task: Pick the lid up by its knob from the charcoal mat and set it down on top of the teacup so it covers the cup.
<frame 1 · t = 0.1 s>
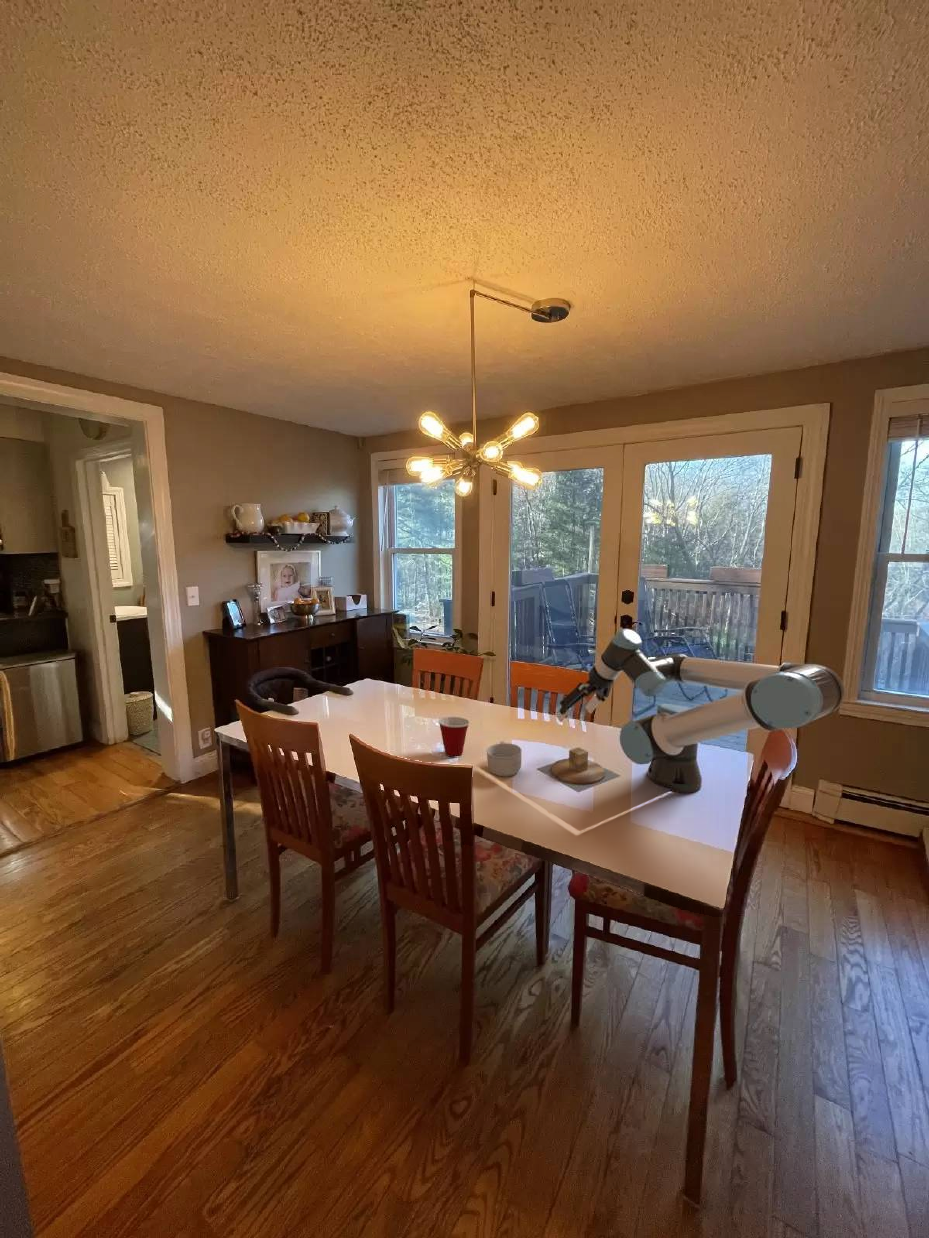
hand: (573, 714, 169), 15 cm above the table, tool tilted 35°, fingers open, 13 cm apart
plastic cup: (454, 754, 176), on the table
mat: (577, 775, 160), on the table
lid: (577, 772, 159), point 1 cm above the table, touching mat
teacup: (504, 771, 163), on the table
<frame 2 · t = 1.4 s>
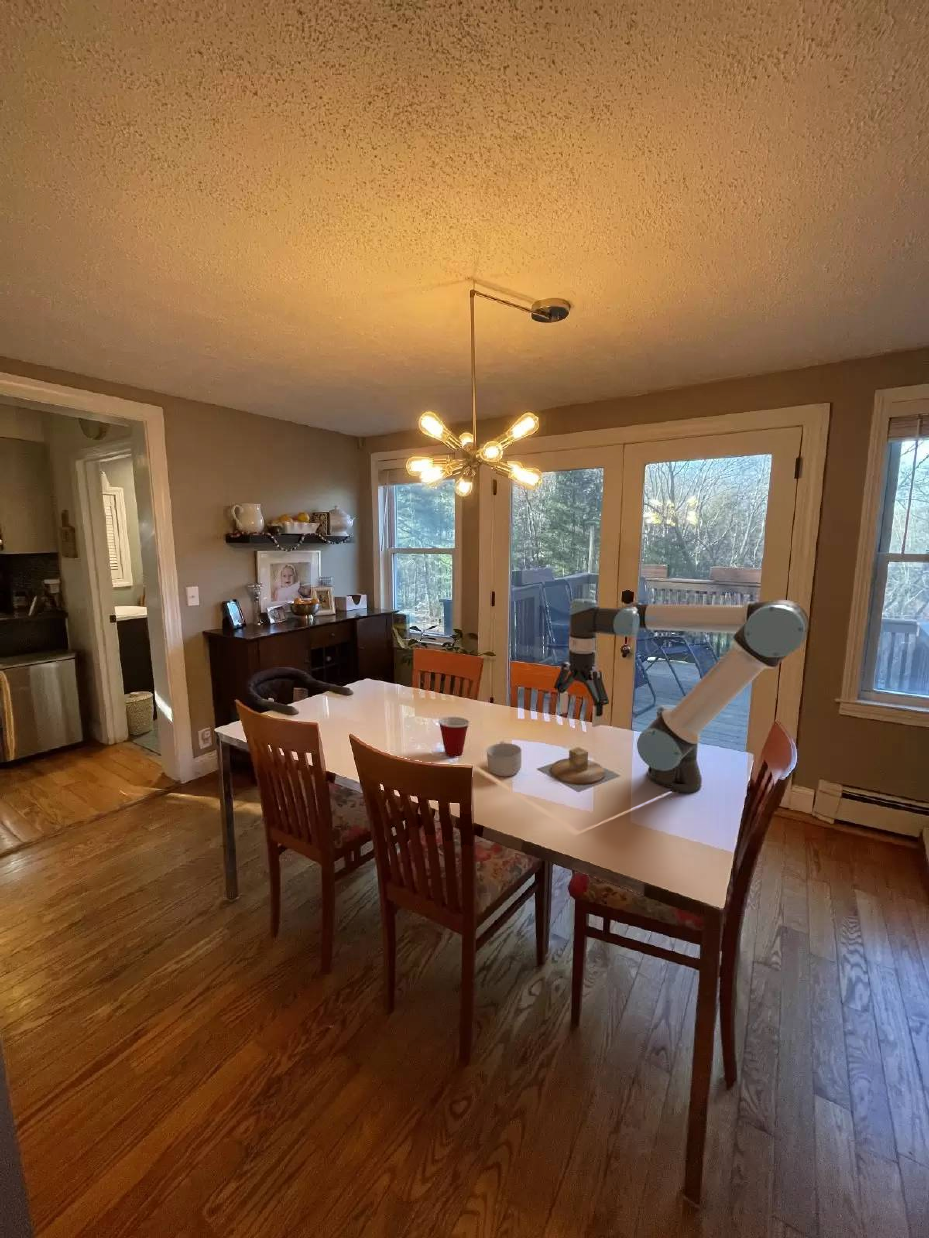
hand: (579, 719, 157), 18 cm above the table, tool pointing down, fingers open, 13 cm apart
nothing on the table moved.
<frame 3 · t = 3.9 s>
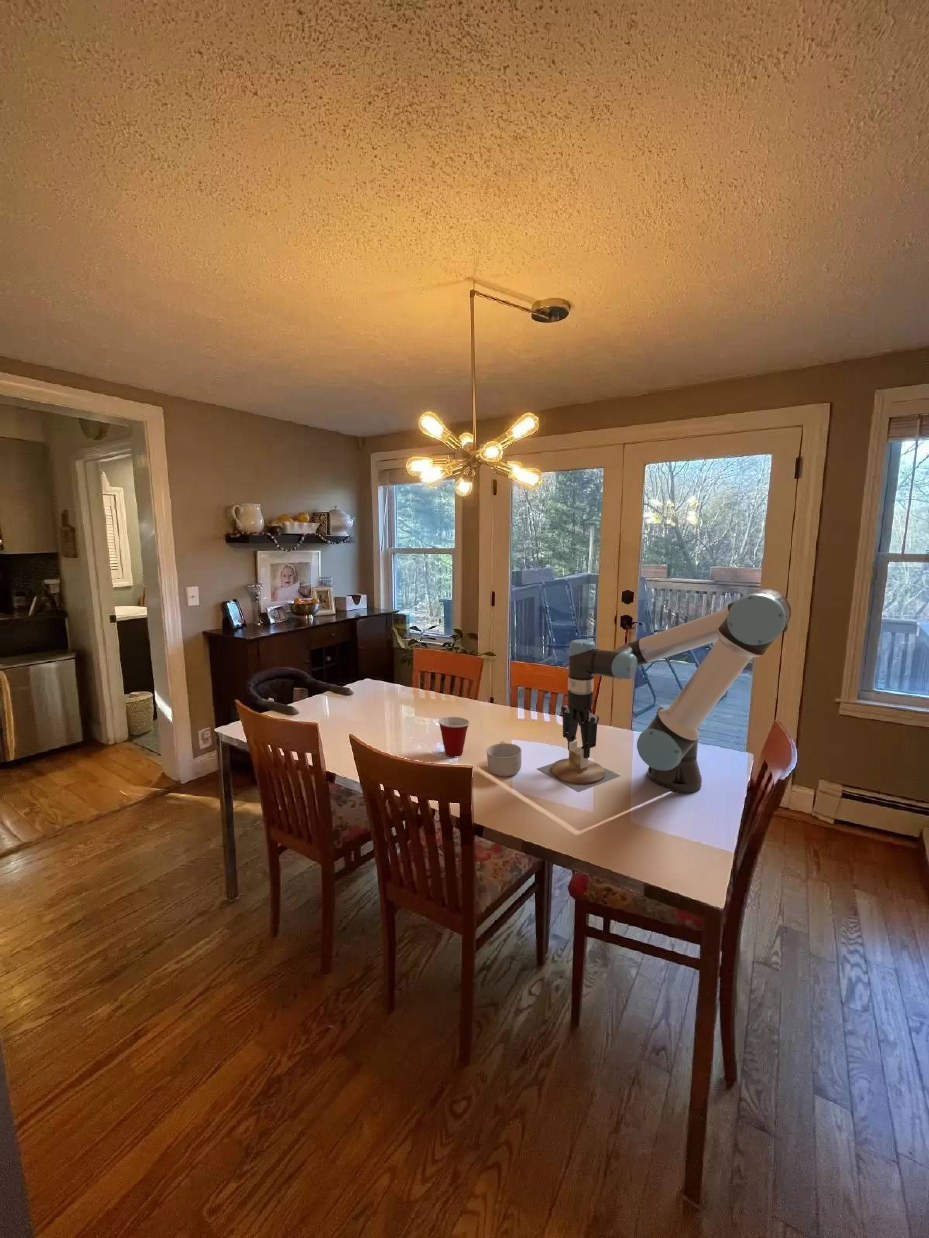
hand: (578, 764, 159), 4 cm above the table, tool pointing down, fingers closed on lid, 4 cm apart
lid: (577, 772, 159), point 1 cm above the table, touching gripper
everything else where it was.
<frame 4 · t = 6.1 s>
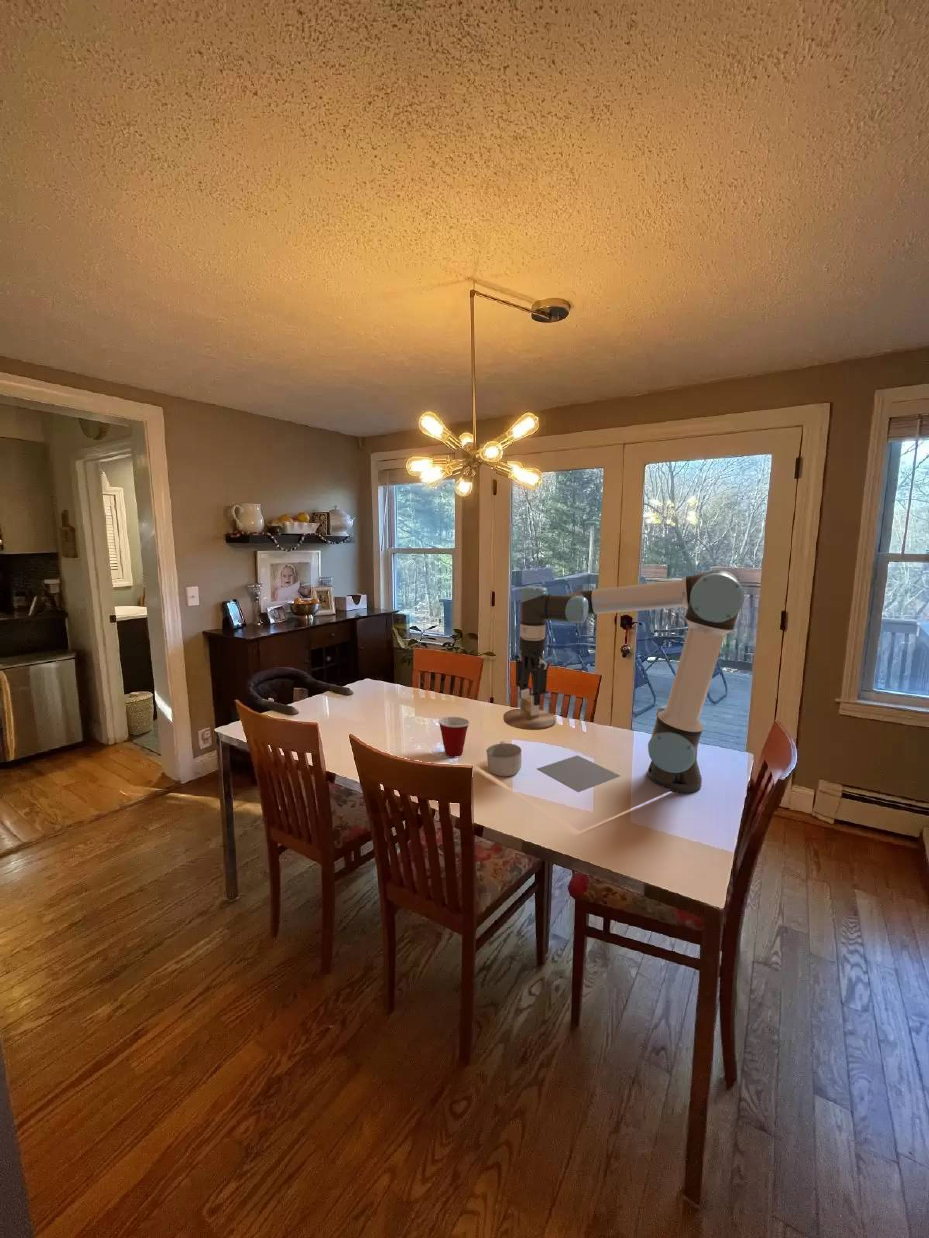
hand: (529, 712, 159), 20 cm above the table, tool pointing down, fingers closed on lid, 4 cm apart
lid: (529, 720, 159), point 17 cm above the table, touching gripper
everything else where it was.
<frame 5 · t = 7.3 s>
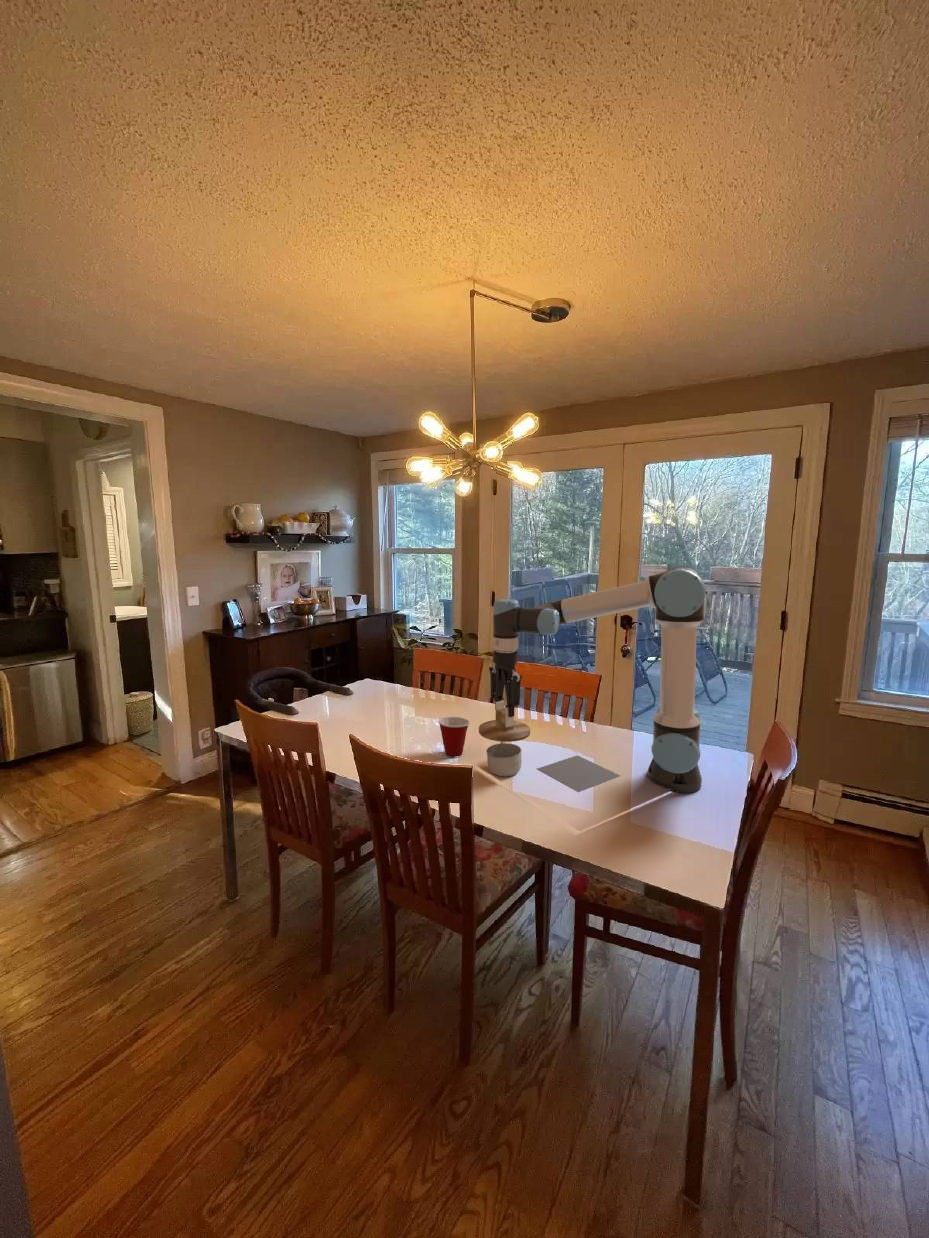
hand: (504, 723, 160), 16 cm above the table, tool pointing down, fingers closed on lid, 4 cm apart
lid: (504, 731, 161), point 13 cm above the table, touching gripper
everything else where it was.
when the fingers open (13 cm above the table, at t = 8.4 s): lid drops 2 cm, resting on teacup.
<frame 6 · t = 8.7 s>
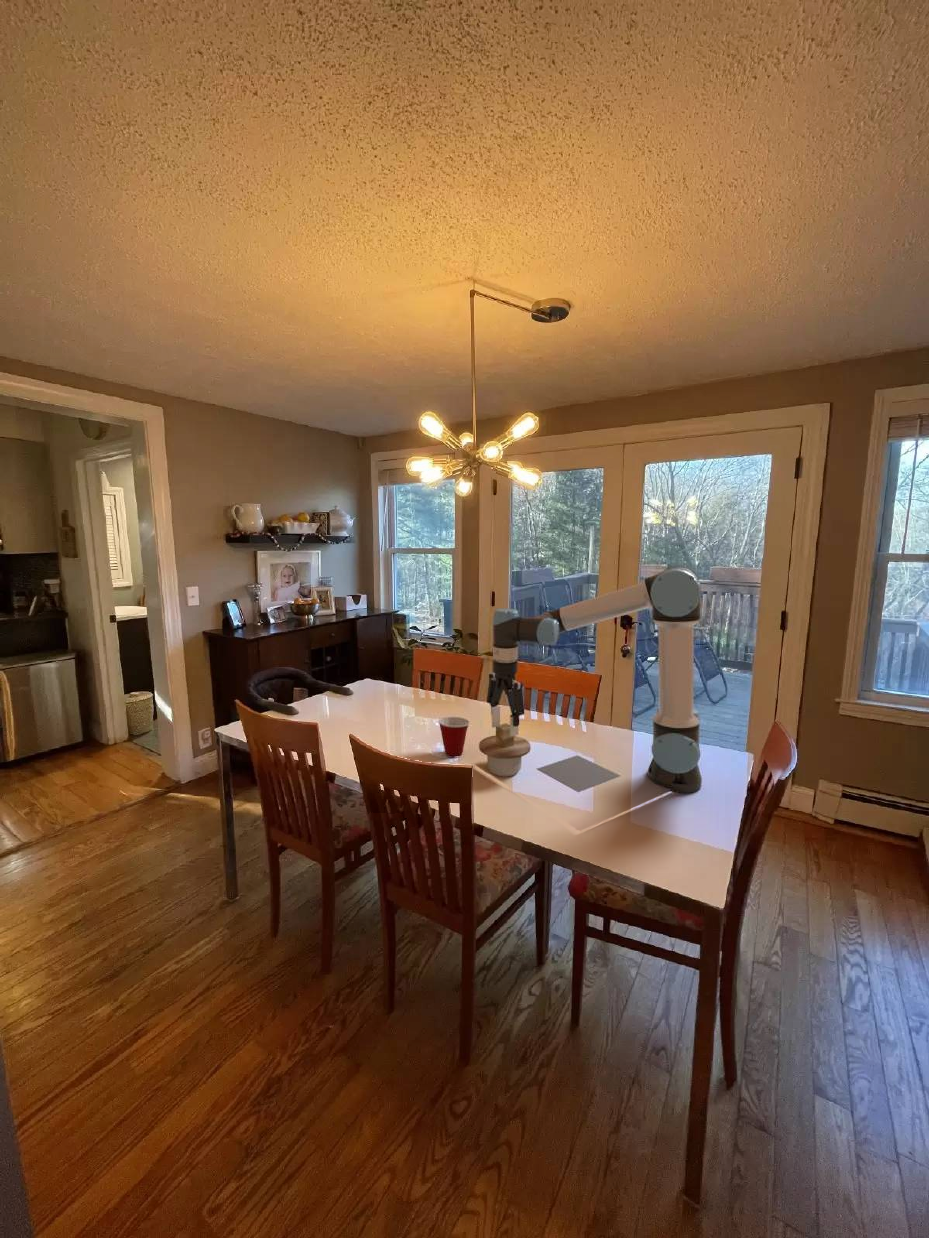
hand: (504, 730, 160), 13 cm above the table, tool pointing down, fingers open, 8 cm apart
lid: (504, 747, 161), point 8 cm above the table, touching teacup
teacup: (504, 771, 163), on the table, touching lid
everything else where it was.
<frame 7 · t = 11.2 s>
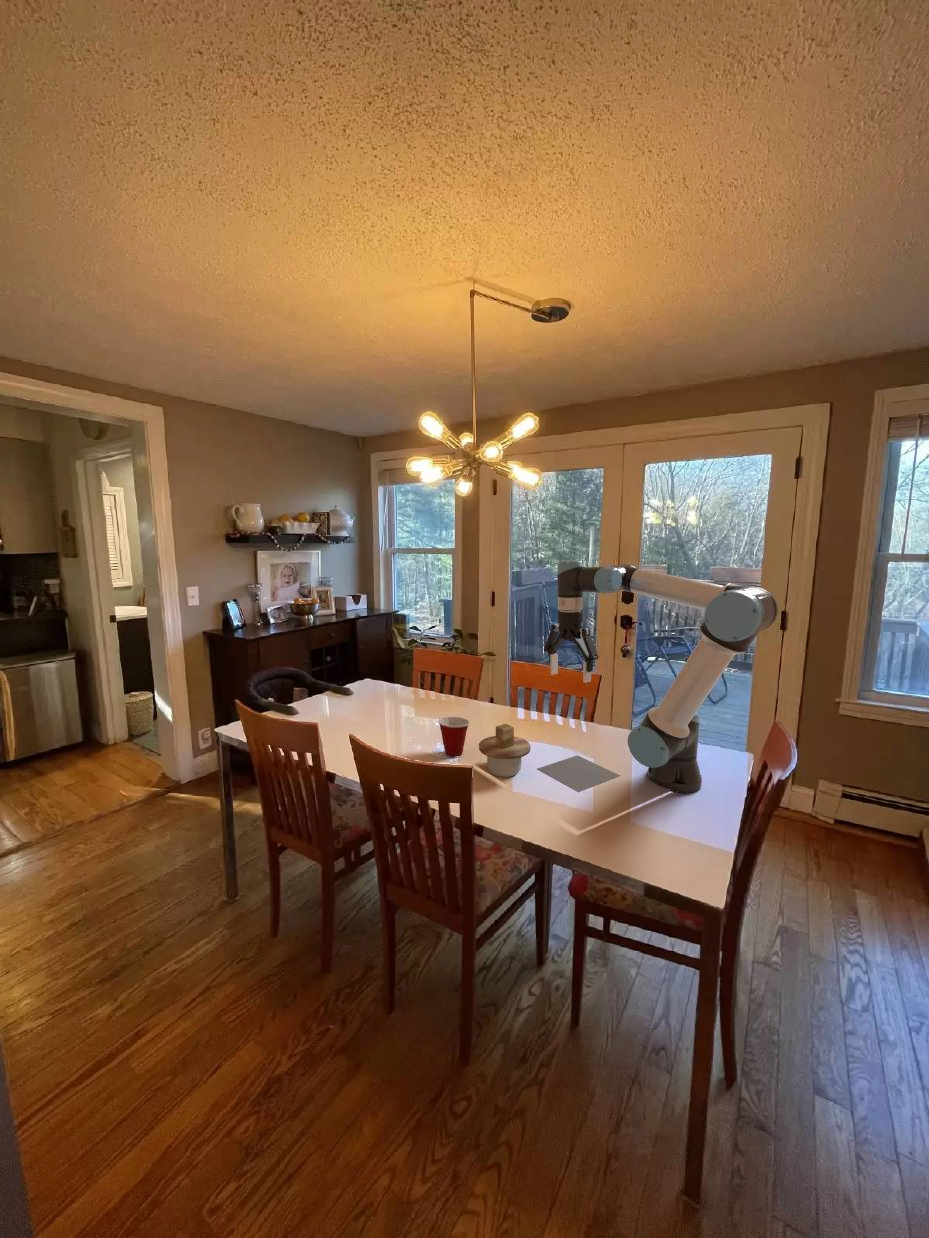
hand: (570, 677, 162), 29 cm above the table, tool pointing down, fingers open, 13 cm apart
nothing on the table moved.
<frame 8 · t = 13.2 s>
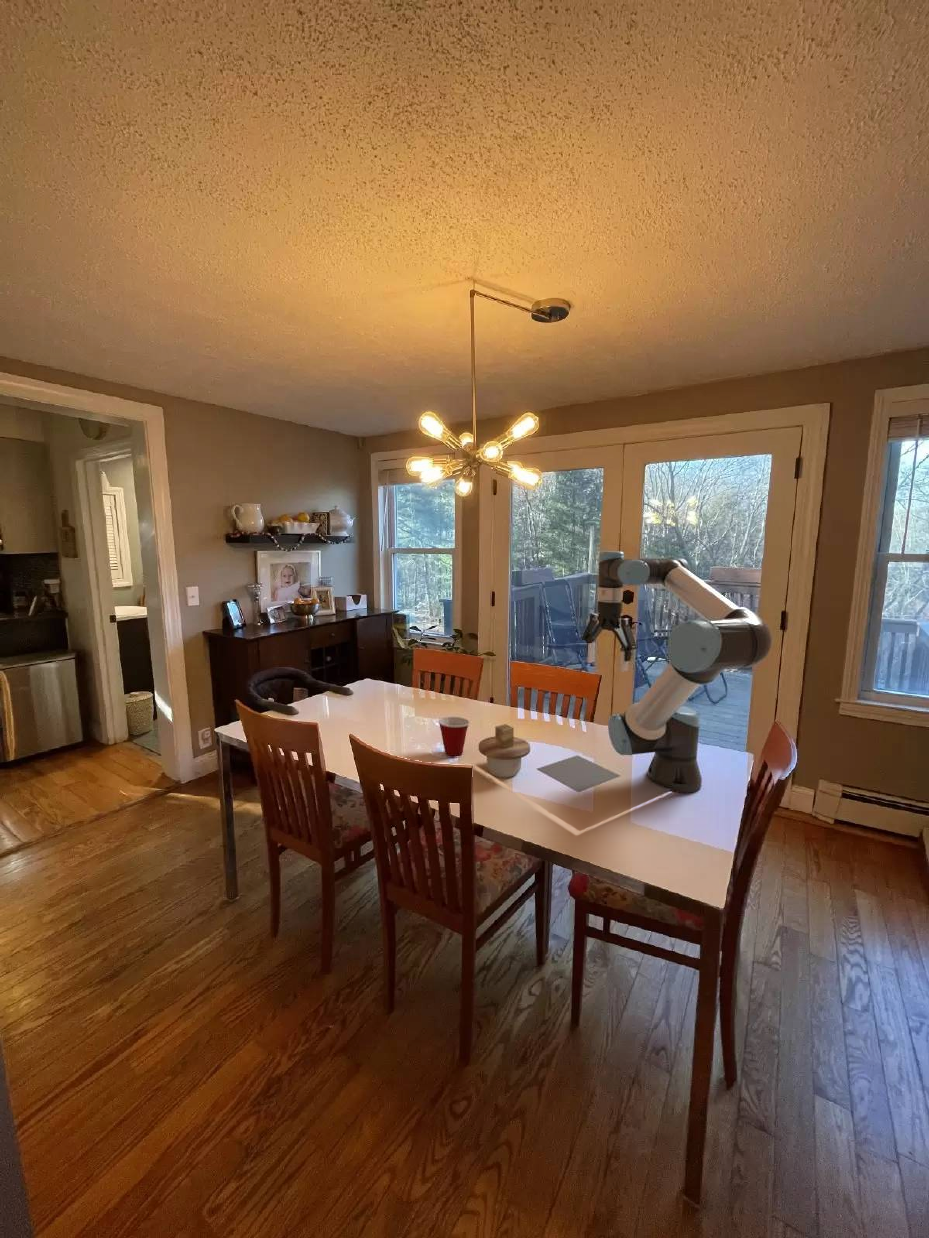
hand: (607, 666, 165), 32 cm above the table, tool pointing down, fingers open, 13 cm apart
nothing on the table moved.
at the end: lid inside the target area on the teacup (0.5 cm from its centre), point 8.2 cm above the teacup's base; lid tilted 0°; the gripper is holding nothing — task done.
